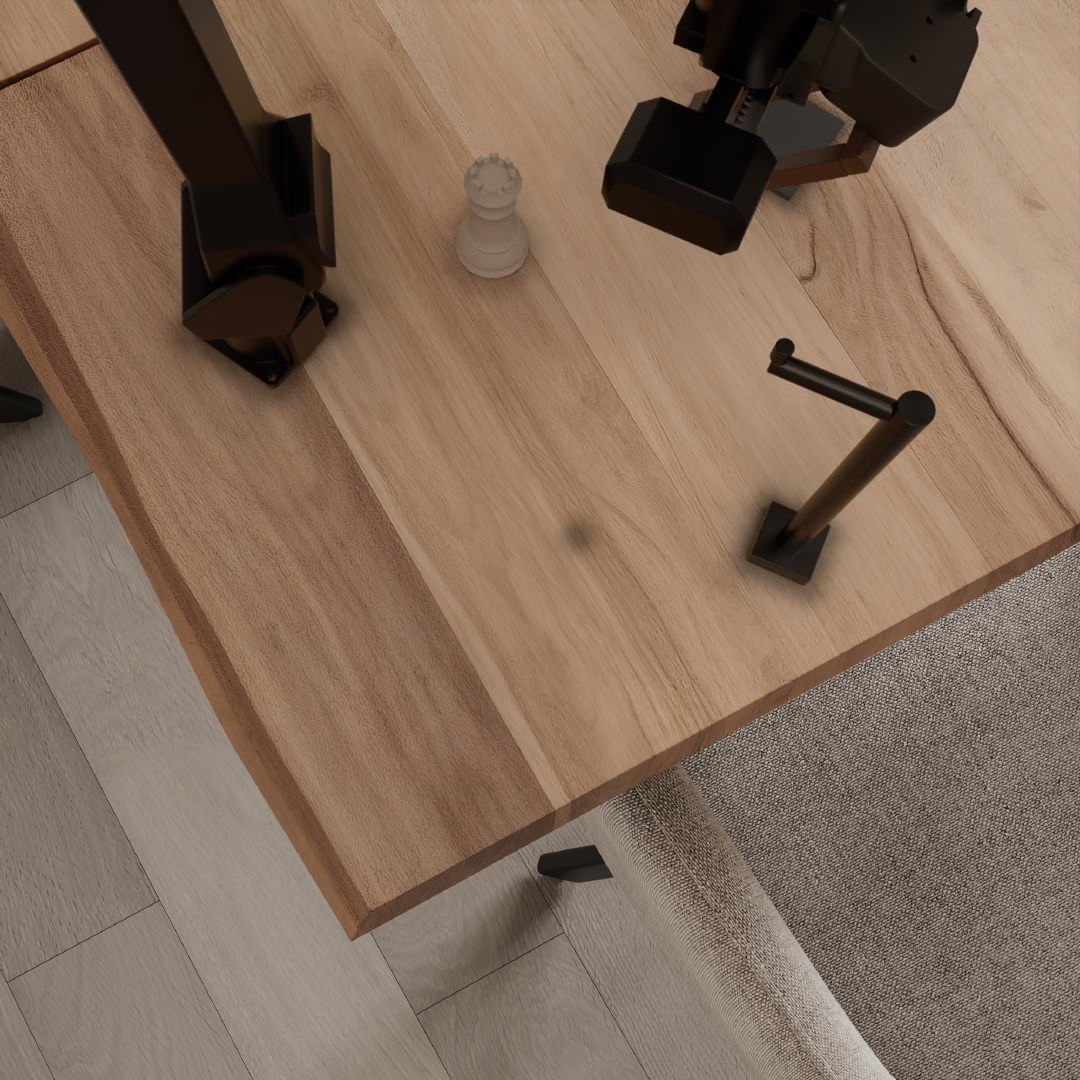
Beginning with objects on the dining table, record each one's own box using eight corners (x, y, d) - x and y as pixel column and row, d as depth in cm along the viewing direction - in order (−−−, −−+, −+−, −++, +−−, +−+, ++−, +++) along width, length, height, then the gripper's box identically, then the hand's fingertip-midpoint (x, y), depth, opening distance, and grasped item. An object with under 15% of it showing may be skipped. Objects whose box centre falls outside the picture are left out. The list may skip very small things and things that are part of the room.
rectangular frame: (642, 197, 54) (880, 152, 44) (694, 92, 56) (933, 27, 46) (653, 211, 54) (891, 169, 45) (704, 107, 56) (942, 45, 47)
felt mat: (696, 144, 70) (697, 140, 70) (753, 71, 72) (754, 67, 72) (788, 201, 70) (790, 197, 69) (843, 125, 71) (845, 122, 71)
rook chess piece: (447, 272, 67) (442, 196, 59) (466, 211, 68) (463, 129, 61) (518, 290, 67) (522, 215, 59) (535, 228, 68) (542, 147, 60)
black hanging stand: (674, 530, 63) (760, 379, 43) (697, 476, 64) (791, 305, 44) (804, 586, 62) (950, 459, 43) (825, 531, 63) (977, 382, 44)
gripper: (922, 188, 37) (797, 384, 51) (1078, -195, 42) (923, 85, 57) (617, 63, 37) (581, 292, 52) (807, -296, 43) (724, 5, 57)
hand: (713, 165), depth 55 cm, fingers closed on rectangular frame, 7 cm apart
